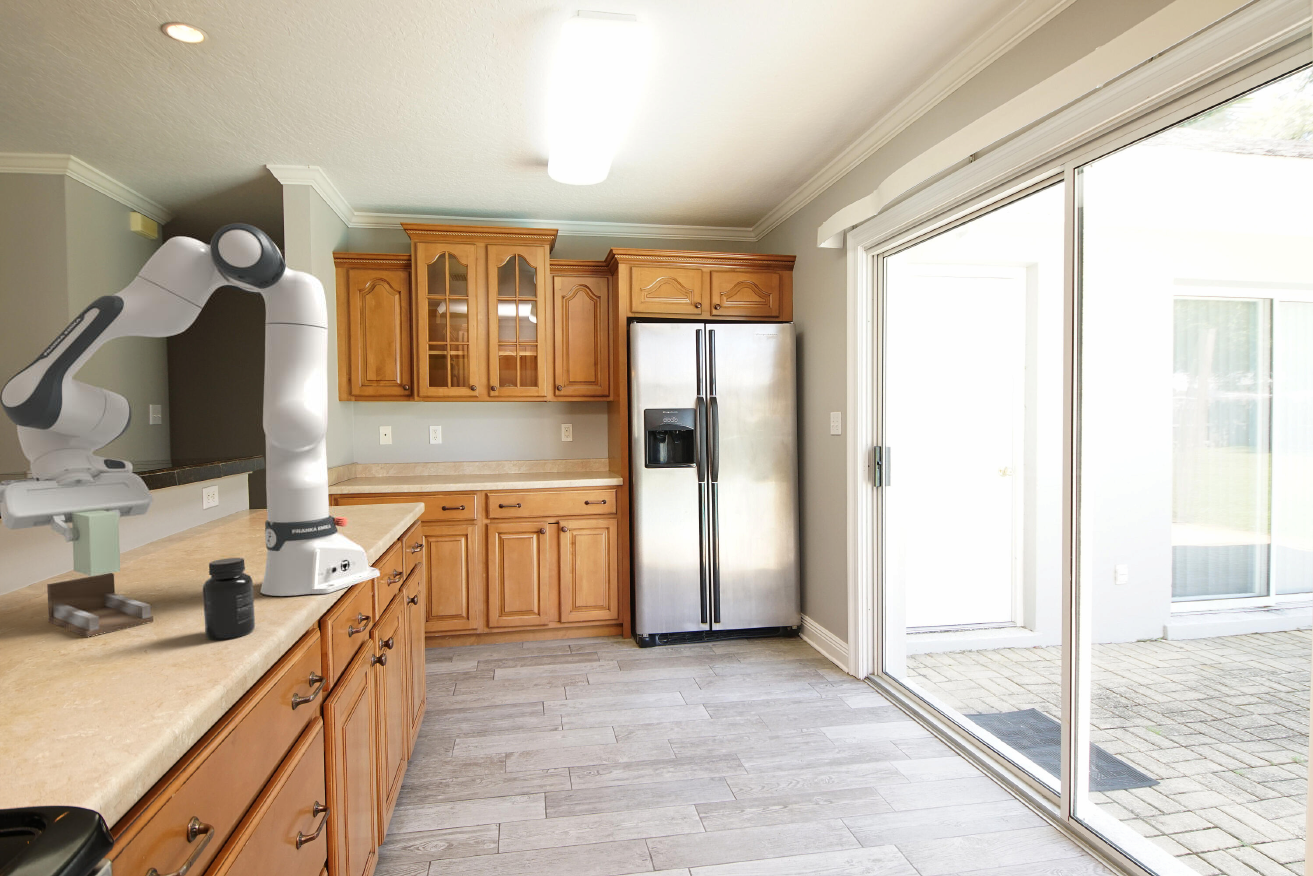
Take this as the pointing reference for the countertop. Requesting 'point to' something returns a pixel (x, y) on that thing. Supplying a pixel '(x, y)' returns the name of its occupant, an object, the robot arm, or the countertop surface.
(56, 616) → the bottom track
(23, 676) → the countertop surface
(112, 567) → the pale green block
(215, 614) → the supplement bottle
